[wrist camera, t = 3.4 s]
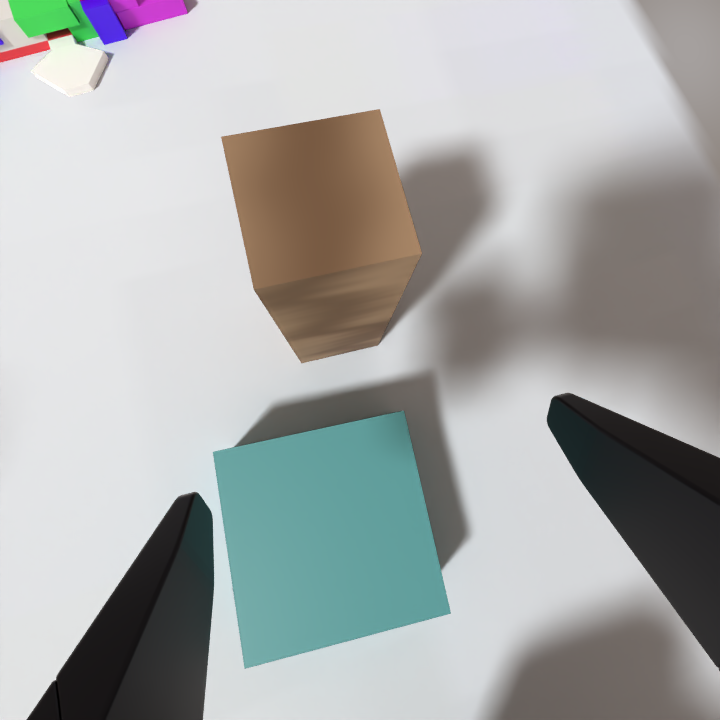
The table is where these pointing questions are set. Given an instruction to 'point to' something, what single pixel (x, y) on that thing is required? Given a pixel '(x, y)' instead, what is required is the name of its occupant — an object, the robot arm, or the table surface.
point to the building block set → (73, 34)
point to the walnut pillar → (324, 229)
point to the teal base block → (327, 537)
